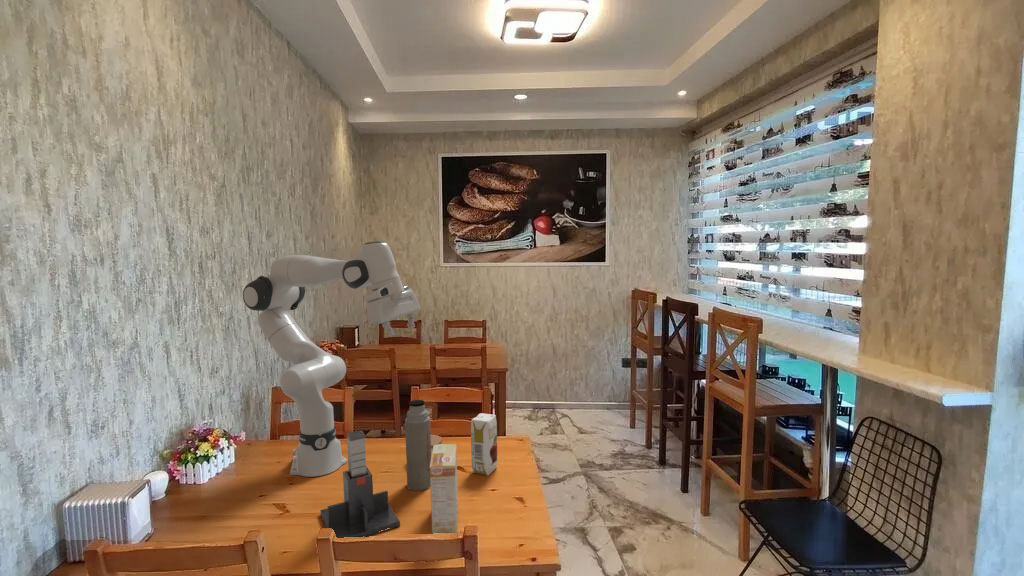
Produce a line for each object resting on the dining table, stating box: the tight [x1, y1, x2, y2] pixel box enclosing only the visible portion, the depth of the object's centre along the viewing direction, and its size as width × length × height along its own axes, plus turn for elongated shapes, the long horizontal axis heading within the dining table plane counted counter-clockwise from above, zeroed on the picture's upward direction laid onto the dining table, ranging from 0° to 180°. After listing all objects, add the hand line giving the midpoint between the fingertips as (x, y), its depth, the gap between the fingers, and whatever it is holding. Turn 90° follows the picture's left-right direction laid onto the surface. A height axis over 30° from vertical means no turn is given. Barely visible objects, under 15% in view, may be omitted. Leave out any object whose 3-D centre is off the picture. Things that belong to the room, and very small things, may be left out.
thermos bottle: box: [404, 399, 432, 492], centre depth 159 cm, size 8×8×28 cm
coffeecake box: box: [430, 443, 459, 534], centre depth 138 cm, size 15×7×20 cm, turn 5°
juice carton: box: [470, 412, 498, 476], centre depth 169 cm, size 8×9×19 cm
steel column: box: [346, 430, 367, 479], centre depth 138 cm, size 4×4×24 cm
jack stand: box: [319, 465, 401, 538], centre depth 139 cm, size 18×18×14 cm
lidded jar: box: [431, 434, 443, 456], centre depth 178 cm, size 11×11×9 cm
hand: (402, 331), depth 155 cm, fingers open, 8 cm apart
